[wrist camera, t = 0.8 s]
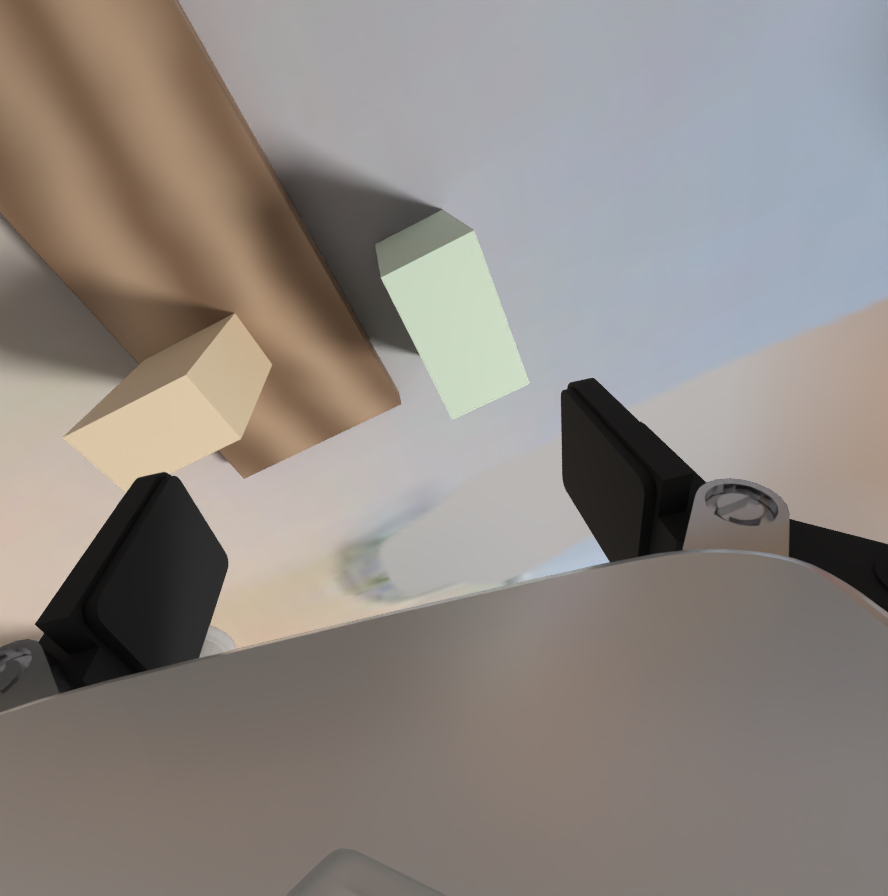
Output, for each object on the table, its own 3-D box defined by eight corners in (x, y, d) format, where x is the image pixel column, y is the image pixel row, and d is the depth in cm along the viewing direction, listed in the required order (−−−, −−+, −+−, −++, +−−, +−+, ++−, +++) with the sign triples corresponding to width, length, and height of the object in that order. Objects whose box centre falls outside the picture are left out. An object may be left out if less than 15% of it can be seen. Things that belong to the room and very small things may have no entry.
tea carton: (442, 209, 30) (475, 229, 22) (489, 329, 35) (530, 383, 27) (374, 244, 30) (379, 278, 22) (430, 357, 35) (451, 420, 27)
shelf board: (87, -160, 20) (22, -234, 16) (399, 392, 36) (403, 420, 33) (-159, 4, 21) (-273, -29, 17) (249, 464, 38) (236, 499, 34)
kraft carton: (234, 313, 29) (185, 374, 21) (272, 364, 32) (241, 439, 23) (144, 359, 30) (62, 437, 22) (187, 407, 32) (127, 494, 24)
